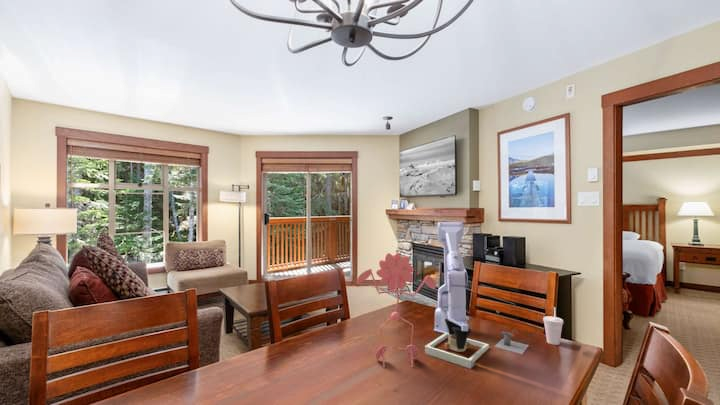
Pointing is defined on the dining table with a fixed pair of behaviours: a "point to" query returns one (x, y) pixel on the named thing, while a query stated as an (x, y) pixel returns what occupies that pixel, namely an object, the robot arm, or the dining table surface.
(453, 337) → the collar
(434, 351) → the tray
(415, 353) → the figurine
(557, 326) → the smoothie
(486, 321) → the dining table surface
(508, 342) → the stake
